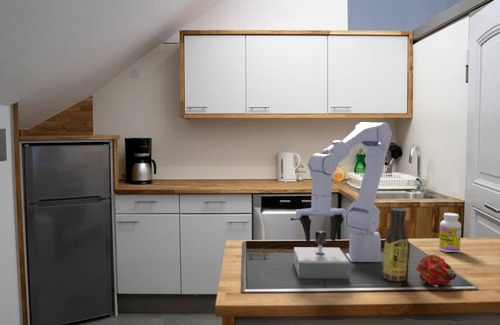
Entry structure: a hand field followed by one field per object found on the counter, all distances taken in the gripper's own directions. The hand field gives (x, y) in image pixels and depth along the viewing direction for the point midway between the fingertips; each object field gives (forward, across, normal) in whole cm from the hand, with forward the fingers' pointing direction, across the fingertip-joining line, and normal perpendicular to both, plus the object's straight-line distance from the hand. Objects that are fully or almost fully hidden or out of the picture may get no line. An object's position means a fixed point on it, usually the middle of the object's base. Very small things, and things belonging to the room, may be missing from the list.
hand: (320, 240), depth 138 cm
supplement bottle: (+9, -51, -15) cm, 54 cm away
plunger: (+5, 0, 0) cm, 5 cm away
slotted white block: (+9, 0, 0) cm, 9 cm away
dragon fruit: (+9, -28, +15) cm, 33 cm away
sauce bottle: (+9, -19, +10) cm, 23 cm away
